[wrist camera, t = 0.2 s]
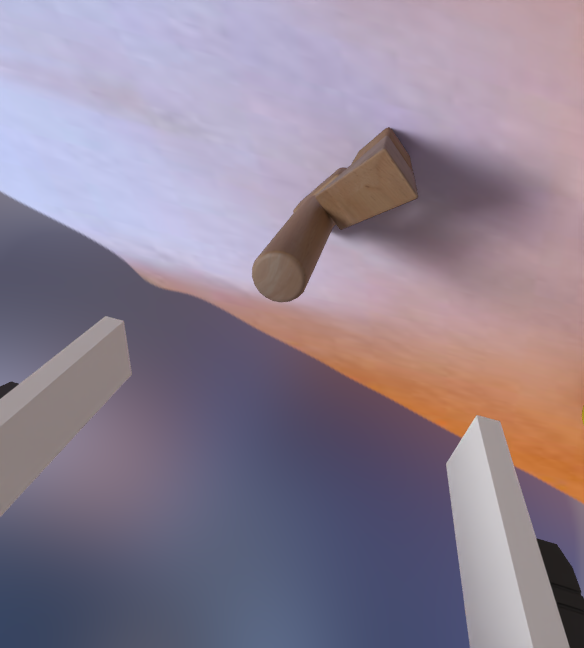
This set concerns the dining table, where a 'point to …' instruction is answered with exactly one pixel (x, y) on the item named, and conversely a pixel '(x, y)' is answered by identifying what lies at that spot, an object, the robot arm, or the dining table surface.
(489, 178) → the dining table surface
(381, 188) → the wooden block
